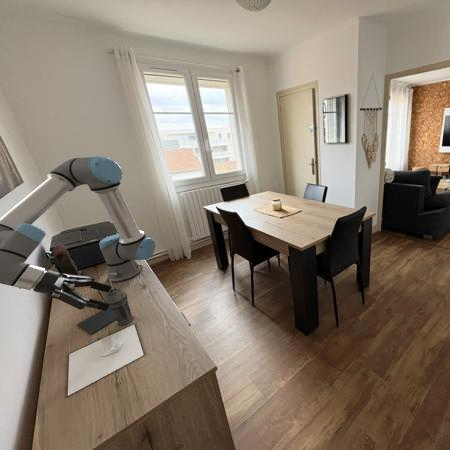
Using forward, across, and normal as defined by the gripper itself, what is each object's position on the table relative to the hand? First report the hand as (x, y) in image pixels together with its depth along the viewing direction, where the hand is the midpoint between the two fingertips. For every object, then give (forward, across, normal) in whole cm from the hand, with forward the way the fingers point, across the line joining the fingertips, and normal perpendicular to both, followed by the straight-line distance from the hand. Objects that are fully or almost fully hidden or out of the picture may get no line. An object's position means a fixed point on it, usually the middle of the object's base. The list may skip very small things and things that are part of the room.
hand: (109, 297), depth 94 cm
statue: (-7, -62, -26) cm, 67 cm away
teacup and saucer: (+7, +16, -12) cm, 21 cm away
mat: (+4, -8, -14) cm, 17 cm away
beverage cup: (+10, 0, -8) cm, 13 cm away
